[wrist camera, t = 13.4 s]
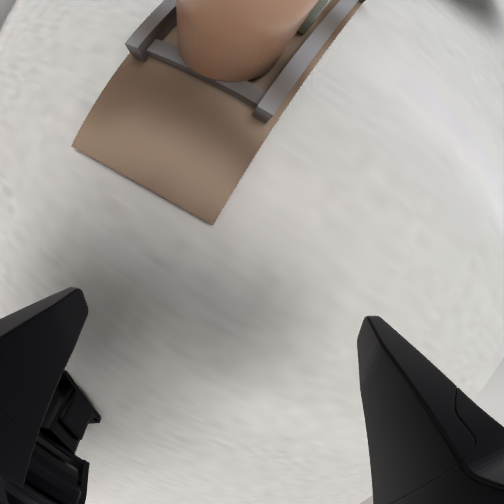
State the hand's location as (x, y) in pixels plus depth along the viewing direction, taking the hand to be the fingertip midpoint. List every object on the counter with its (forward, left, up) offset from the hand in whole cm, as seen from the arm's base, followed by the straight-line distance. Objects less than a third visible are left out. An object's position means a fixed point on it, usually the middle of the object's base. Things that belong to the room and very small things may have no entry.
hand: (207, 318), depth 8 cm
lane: (+6, +13, -10) cm, 17 cm away
